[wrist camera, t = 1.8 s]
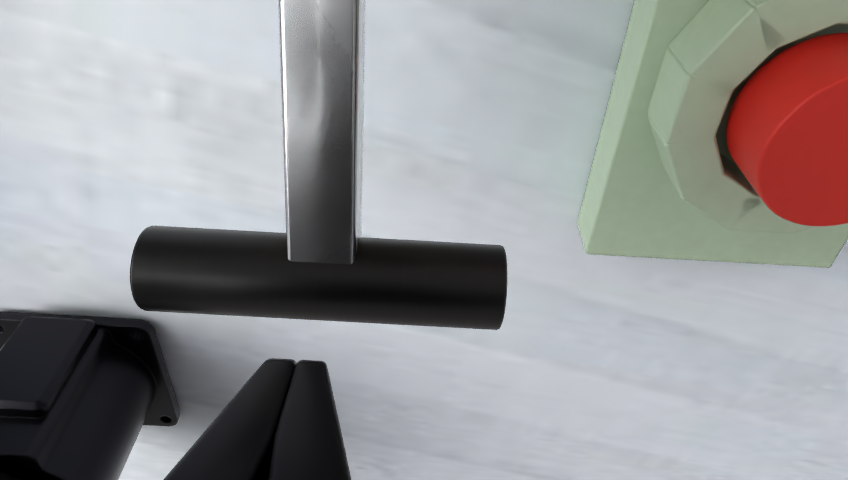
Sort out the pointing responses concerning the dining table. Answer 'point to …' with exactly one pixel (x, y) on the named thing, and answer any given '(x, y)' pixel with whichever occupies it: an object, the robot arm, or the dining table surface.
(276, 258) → the switch lever
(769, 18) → the button box
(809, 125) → the red push button
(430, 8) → the dining table surface
